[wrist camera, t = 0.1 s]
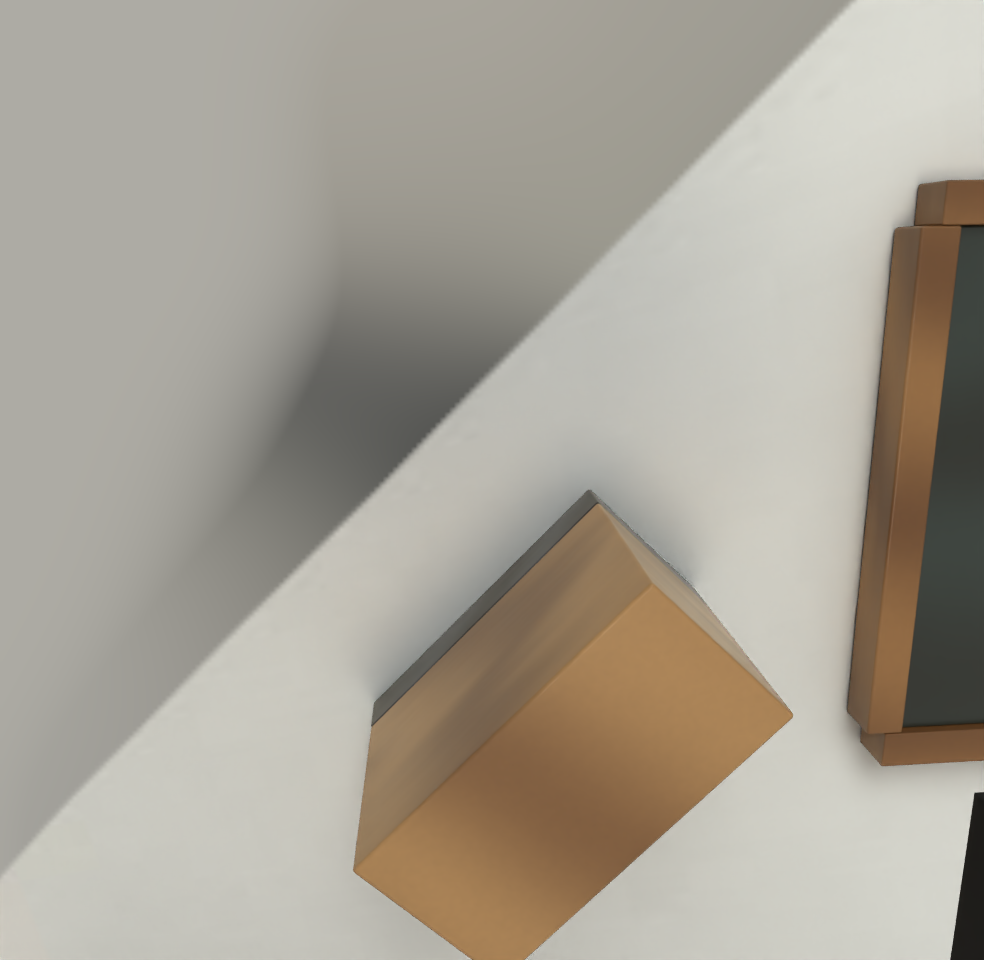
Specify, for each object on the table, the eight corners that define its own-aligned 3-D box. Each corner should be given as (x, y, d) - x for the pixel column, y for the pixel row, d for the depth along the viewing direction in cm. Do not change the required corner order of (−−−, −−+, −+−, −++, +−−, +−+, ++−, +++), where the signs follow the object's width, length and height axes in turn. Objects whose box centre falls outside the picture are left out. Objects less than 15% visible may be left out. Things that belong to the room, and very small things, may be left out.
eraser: (588, 488, 27) (652, 582, 19) (695, 588, 28) (796, 717, 20) (373, 703, 28) (351, 872, 20) (482, 790, 29) (501, 983, 21)
